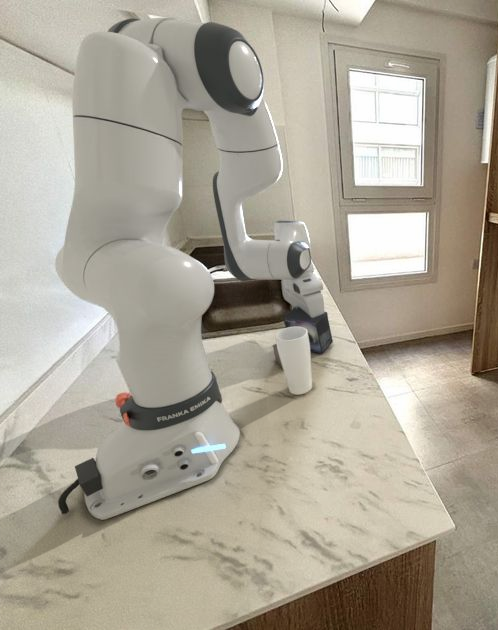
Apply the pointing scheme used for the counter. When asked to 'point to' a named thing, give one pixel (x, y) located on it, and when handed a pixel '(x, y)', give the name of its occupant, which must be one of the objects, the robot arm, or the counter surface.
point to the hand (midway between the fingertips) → (305, 322)
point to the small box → (311, 328)
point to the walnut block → (277, 355)
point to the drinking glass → (295, 358)
